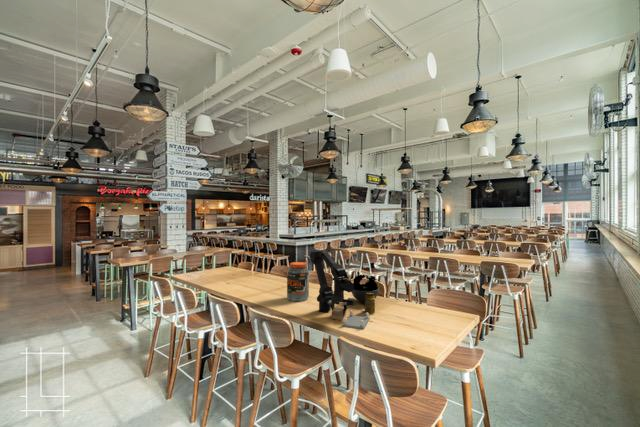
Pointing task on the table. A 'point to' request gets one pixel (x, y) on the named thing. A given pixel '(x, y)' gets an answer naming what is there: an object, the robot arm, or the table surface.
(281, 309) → the table surface
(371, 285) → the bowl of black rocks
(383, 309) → the table surface
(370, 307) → the condiment
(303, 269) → the supplement tub
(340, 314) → the block
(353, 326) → the chassis
